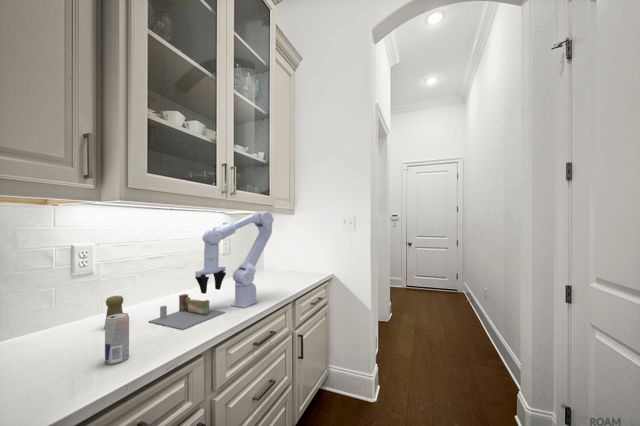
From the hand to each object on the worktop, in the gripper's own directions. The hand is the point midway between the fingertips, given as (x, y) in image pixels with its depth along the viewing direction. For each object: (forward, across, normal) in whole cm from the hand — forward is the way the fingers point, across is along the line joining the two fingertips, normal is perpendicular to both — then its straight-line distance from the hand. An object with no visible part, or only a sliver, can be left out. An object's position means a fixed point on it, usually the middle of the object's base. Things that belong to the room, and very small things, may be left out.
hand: (210, 291), depth 117 cm
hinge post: (+9, +5, -10) cm, 14 cm away
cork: (+9, +26, -19) cm, 34 cm away
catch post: (+9, +14, -10) cm, 19 cm away
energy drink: (+9, +41, +8) cm, 43 cm away
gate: (+8, +5, -3) cm, 9 cm away
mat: (+9, +9, -3) cm, 13 cm away
